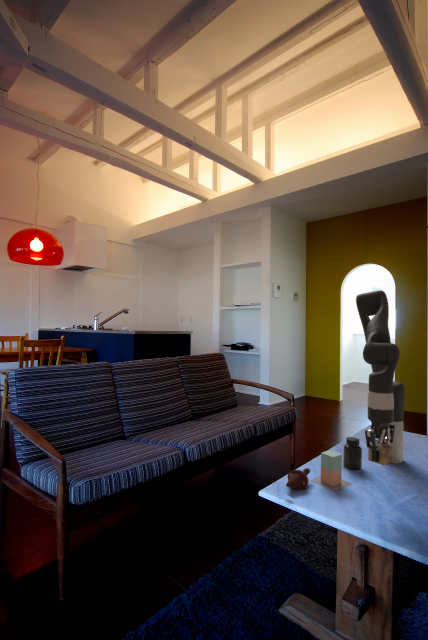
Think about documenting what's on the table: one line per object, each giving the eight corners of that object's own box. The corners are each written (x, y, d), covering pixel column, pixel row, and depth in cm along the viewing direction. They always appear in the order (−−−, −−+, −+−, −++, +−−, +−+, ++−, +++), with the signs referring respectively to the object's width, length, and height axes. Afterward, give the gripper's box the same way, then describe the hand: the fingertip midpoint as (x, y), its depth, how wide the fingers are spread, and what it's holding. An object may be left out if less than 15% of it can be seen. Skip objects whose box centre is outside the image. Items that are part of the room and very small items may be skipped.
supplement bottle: (363, 473, 135) (363, 442, 135) (344, 471, 137) (345, 440, 137) (359, 466, 142) (360, 436, 142) (341, 465, 143) (342, 435, 144)
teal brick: (329, 463, 129) (330, 450, 129) (341, 468, 125) (342, 454, 125) (320, 466, 126) (321, 452, 126) (332, 471, 122) (333, 457, 122)
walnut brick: (376, 456, 115) (377, 441, 116) (392, 461, 111) (392, 445, 111) (368, 460, 113) (368, 444, 113) (383, 465, 109) (383, 449, 109)
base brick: (329, 477, 129) (329, 463, 129) (341, 482, 125) (341, 468, 125) (320, 481, 126) (320, 466, 126) (332, 486, 122) (332, 471, 122)
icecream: (299, 482, 112) (319, 472, 124) (280, 469, 117) (301, 461, 128) (293, 502, 113) (313, 490, 124) (274, 488, 118) (295, 478, 129)
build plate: (327, 476, 132) (327, 473, 132) (351, 486, 124) (351, 483, 124) (310, 482, 126) (310, 480, 126) (334, 494, 118) (334, 491, 118)
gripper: (381, 400, 119) (380, 451, 119) (356, 406, 111) (356, 460, 111) (403, 405, 113) (403, 458, 113) (379, 411, 105) (379, 469, 105)
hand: (380, 459), depth 112 cm, fingers closed on walnut brick, 5 cm apart
